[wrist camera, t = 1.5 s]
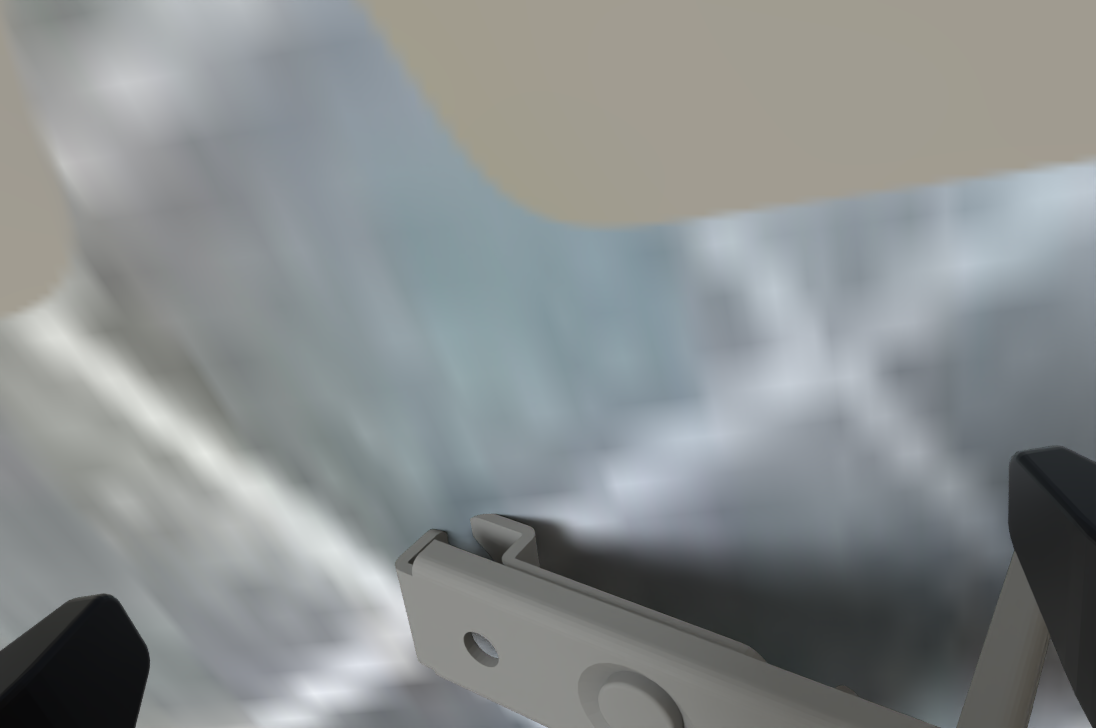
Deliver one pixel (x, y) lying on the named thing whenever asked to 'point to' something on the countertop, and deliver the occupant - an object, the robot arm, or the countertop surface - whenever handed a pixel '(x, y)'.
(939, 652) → the countertop surface
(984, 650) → the bracket
